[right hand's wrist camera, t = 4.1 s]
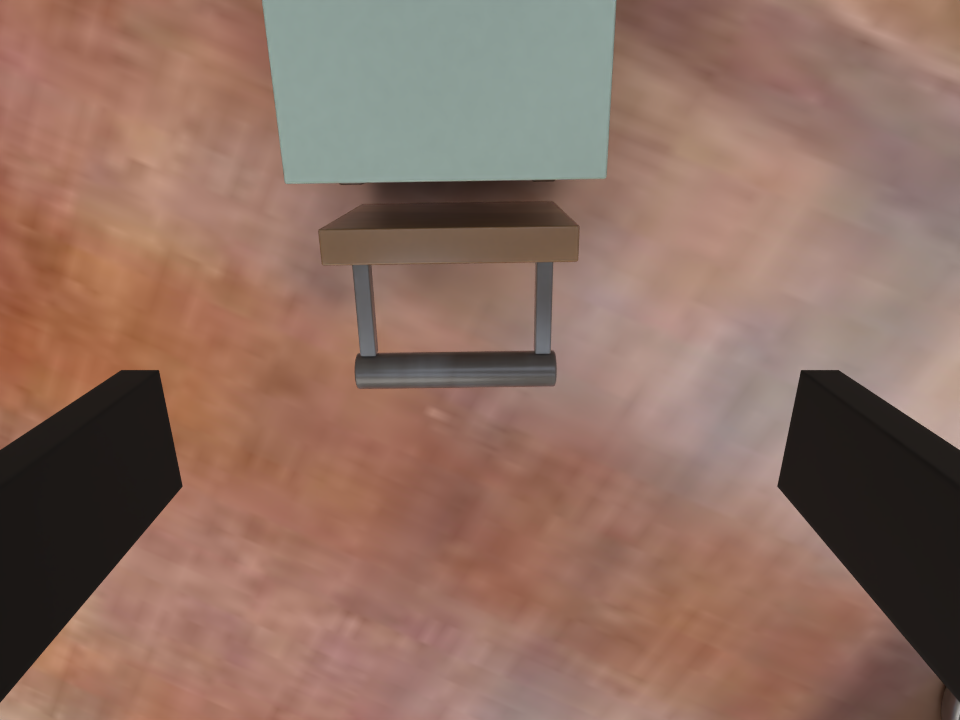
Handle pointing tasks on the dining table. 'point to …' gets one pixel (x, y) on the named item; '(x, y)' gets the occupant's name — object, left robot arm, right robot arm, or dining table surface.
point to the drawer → (452, 240)
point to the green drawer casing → (441, 89)
